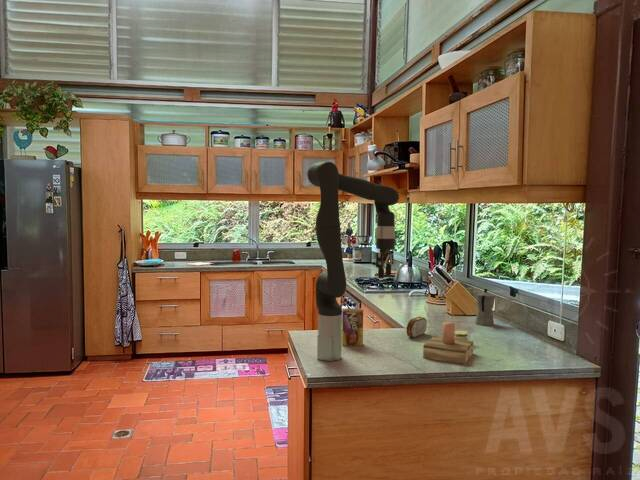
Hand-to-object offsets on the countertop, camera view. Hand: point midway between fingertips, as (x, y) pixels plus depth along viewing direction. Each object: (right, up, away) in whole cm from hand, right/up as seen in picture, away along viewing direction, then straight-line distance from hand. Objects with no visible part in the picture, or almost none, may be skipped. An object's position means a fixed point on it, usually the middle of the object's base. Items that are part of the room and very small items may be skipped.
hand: (384, 276), depth 211 cm
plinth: (+25, -31, -6) cm, 40 cm away
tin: (+18, -29, +24) cm, 42 cm away
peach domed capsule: (+25, -26, -7) cm, 36 cm away
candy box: (-13, -30, +8) cm, 33 cm away
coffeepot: (+57, -28, +49) cm, 80 cm away
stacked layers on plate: (+34, -30, +11) cm, 47 cm away
